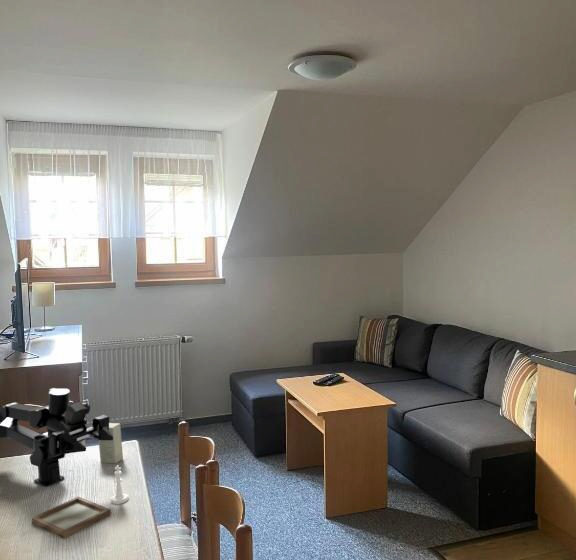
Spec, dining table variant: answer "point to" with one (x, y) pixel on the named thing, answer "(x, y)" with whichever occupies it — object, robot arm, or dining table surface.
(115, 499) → the chess piece
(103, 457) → the skincare box
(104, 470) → the dining table surface
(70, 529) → the walnut tray
